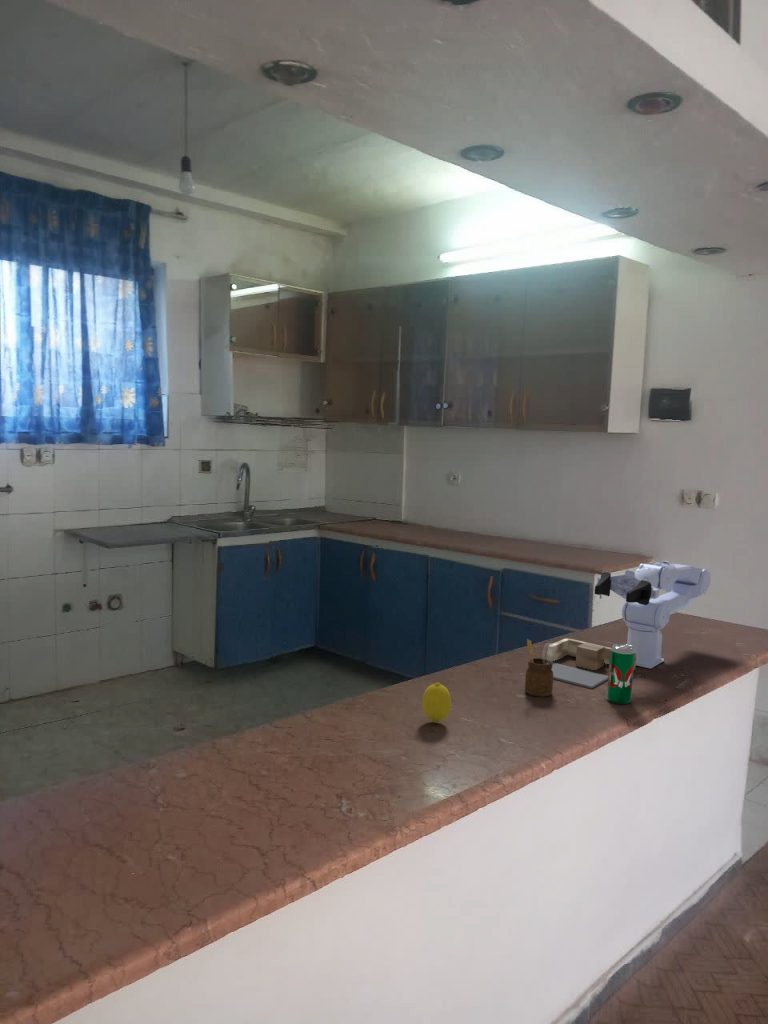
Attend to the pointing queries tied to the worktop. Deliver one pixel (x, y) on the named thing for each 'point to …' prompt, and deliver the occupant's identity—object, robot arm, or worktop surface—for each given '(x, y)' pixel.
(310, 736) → the worktop surface
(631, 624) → the robot arm
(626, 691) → the soda can
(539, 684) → the utensil holder
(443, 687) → the lemon
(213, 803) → the worktop surface
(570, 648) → the beige angled piece
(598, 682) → the rubber mat
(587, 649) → the wooden cube
